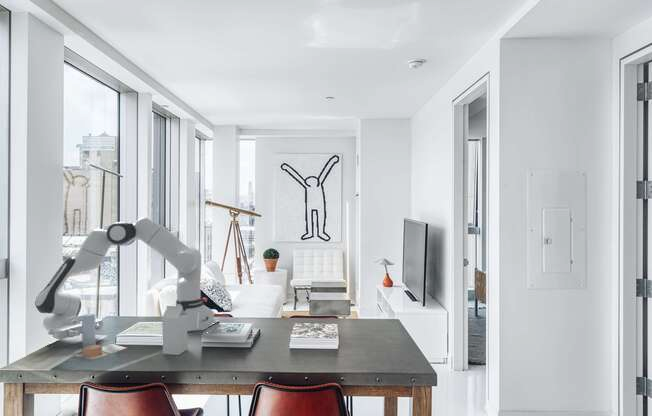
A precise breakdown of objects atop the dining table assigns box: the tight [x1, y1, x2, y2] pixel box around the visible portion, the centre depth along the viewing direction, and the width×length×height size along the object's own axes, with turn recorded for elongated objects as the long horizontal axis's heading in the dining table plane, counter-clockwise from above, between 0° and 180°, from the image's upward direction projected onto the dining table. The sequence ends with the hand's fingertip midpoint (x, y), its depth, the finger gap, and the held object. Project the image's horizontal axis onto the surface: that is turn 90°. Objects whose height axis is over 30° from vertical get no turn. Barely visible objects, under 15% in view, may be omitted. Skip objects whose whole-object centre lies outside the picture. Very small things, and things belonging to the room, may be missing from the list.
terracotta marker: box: [82, 344, 103, 357], centre depth 180 cm, size 5×5×3 cm
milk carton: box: [161, 305, 188, 356], centre depth 185 cm, size 7×7×19 cm
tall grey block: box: [81, 313, 97, 349], centre depth 191 cm, size 5×5×14 cm
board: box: [74, 343, 127, 361], centre depth 184 cm, size 16×11×1 cm
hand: (89, 330), depth 192 cm, fingers open, 8 cm apart
